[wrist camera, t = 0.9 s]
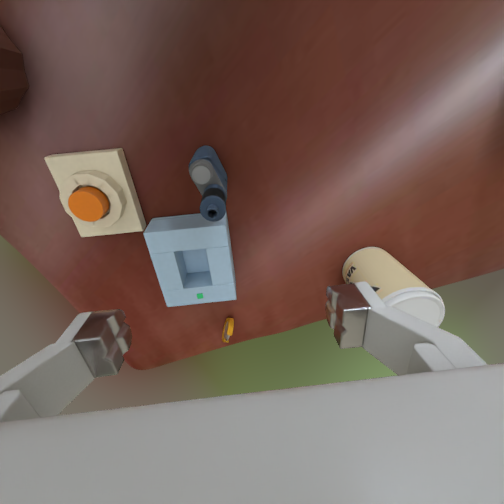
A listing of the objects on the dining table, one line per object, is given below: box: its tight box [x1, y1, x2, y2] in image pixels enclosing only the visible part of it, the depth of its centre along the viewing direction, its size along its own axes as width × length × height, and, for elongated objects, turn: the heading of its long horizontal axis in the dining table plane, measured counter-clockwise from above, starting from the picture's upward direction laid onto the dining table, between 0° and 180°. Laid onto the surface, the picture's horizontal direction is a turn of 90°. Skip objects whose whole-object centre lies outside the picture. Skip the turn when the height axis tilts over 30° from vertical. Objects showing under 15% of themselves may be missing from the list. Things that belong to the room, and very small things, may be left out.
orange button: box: [68, 186, 109, 222], centre depth 30 cm, size 4×4×2 cm
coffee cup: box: [342, 247, 445, 327], centre depth 37 cm, size 9×9×12 cm
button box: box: [44, 148, 146, 237], centre depth 32 cm, size 10×8×4 cm
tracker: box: [222, 318, 234, 342], centre depth 45 cm, size 4×1×4 cm, turn 161°
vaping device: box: [189, 146, 227, 222], centre depth 27 cm, size 3×5×12 cm, turn 24°
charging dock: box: [143, 212, 236, 307], centre depth 37 cm, size 12×10×5 cm
